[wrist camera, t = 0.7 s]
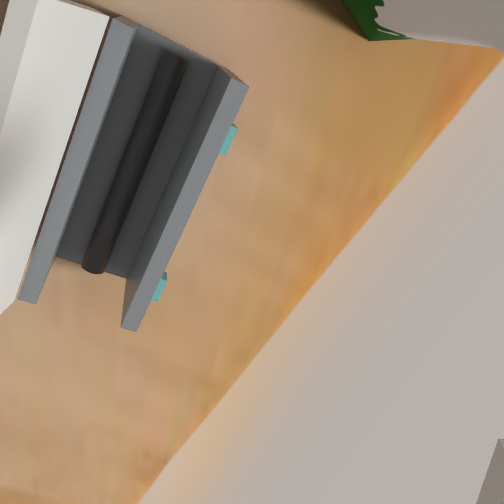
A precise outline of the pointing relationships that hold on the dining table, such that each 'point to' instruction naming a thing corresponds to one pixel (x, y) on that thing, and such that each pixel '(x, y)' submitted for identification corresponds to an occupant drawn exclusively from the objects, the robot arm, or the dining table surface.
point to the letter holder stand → (136, 163)
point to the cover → (37, 115)
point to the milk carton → (432, 20)
